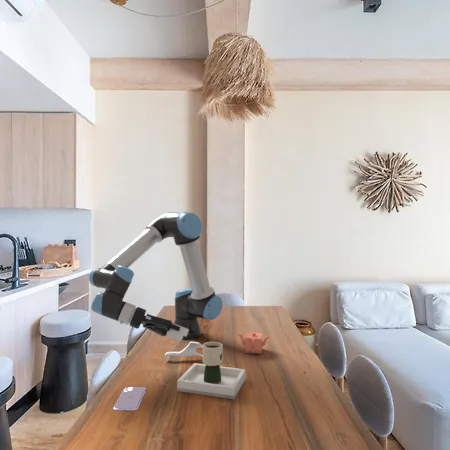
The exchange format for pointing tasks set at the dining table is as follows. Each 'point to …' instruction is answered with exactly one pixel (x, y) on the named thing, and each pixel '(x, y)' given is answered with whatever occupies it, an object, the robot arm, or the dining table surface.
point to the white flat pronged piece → (186, 351)
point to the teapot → (253, 342)
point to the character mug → (212, 361)
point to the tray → (225, 389)
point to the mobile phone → (130, 398)
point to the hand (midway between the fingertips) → (184, 336)
